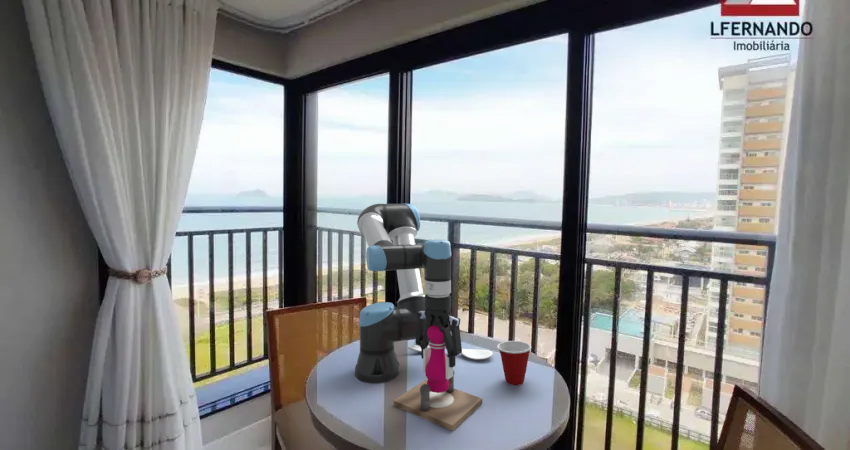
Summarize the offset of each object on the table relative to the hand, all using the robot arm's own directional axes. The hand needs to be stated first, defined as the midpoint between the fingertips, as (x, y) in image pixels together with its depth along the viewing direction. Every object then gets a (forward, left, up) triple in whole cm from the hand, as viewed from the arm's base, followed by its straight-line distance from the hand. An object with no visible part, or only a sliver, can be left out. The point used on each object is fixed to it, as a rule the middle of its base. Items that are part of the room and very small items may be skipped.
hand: (438, 373), depth 103 cm
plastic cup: (+12, +26, -9) cm, 30 cm away
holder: (0, 0, -9) cm, 9 cm away
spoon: (-16, +32, -10) cm, 37 cm away
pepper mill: (0, 0, -4) cm, 4 cm away
